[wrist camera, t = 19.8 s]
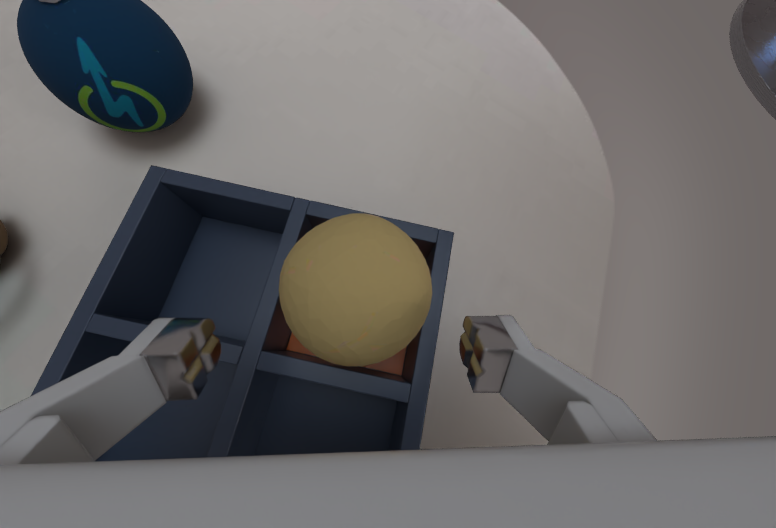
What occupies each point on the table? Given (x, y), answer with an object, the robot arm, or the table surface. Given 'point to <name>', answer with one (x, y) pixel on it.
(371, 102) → the table surface
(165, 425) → the navy compartment tray
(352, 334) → the light bulb
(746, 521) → the robot arm
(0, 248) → the alarm clock
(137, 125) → the christmas ornament
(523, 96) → the table surface
